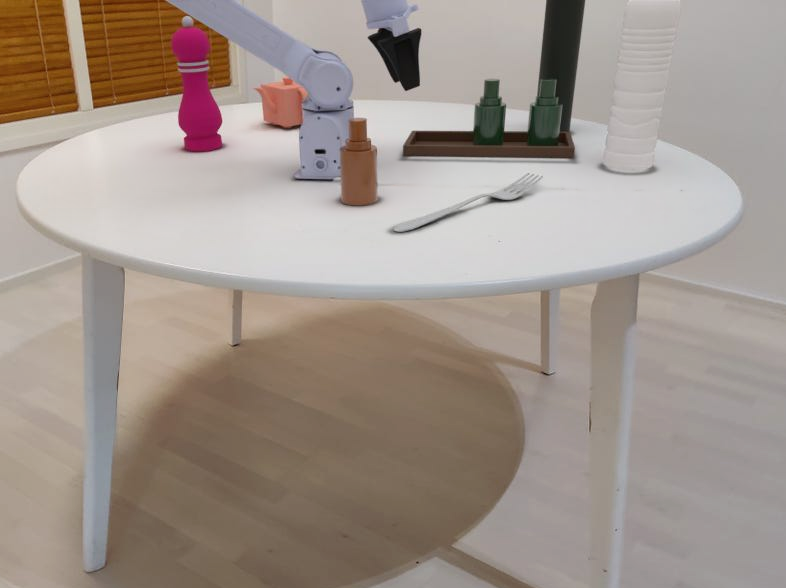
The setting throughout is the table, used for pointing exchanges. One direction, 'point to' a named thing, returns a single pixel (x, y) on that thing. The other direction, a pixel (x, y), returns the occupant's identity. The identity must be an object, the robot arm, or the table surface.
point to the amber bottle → (358, 166)
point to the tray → (463, 145)
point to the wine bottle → (562, 51)
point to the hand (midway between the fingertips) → (406, 84)
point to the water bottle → (640, 83)
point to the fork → (500, 194)
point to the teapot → (282, 102)
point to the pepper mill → (196, 89)
